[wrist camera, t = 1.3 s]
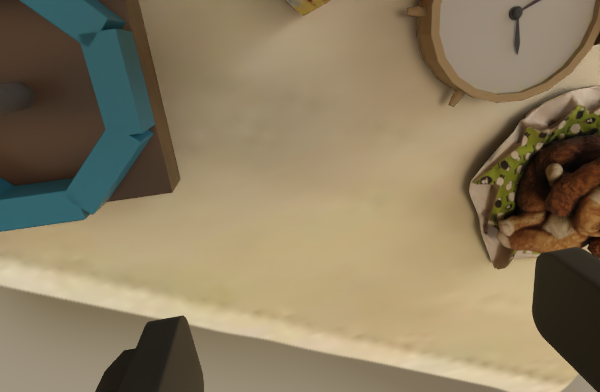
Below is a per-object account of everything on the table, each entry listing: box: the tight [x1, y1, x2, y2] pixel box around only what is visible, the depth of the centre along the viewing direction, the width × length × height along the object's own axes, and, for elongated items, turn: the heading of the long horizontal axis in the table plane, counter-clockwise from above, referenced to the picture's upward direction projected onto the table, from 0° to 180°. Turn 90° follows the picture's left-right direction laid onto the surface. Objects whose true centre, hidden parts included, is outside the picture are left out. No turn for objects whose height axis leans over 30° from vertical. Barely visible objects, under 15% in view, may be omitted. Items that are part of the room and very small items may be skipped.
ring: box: [0, 0, 155, 232], centre depth 23 cm, size 15×15×3 cm
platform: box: [0, 0, 180, 202], centre depth 24 cm, size 15×15×7 cm
